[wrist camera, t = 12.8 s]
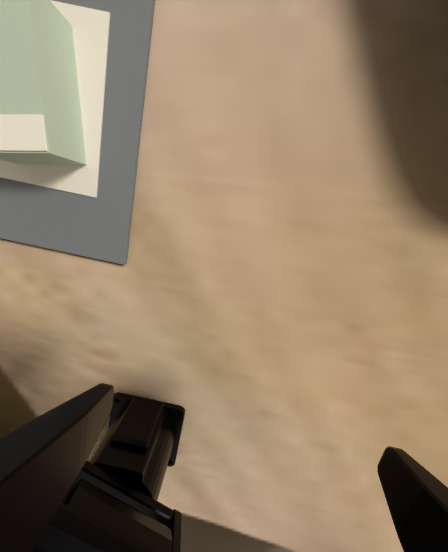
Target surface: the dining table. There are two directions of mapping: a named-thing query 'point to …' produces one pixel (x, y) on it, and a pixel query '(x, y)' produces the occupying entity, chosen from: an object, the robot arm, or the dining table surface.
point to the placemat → (89, 141)
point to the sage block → (38, 86)
